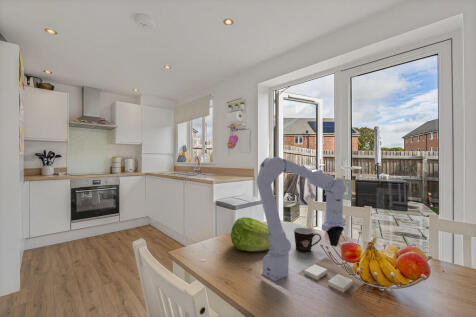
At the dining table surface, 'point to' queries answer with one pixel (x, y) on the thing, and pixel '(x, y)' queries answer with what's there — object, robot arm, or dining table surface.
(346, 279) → the tile
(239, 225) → the lettuce
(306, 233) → the coffee mug
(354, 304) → the dining table surface
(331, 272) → the board
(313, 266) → the tile
